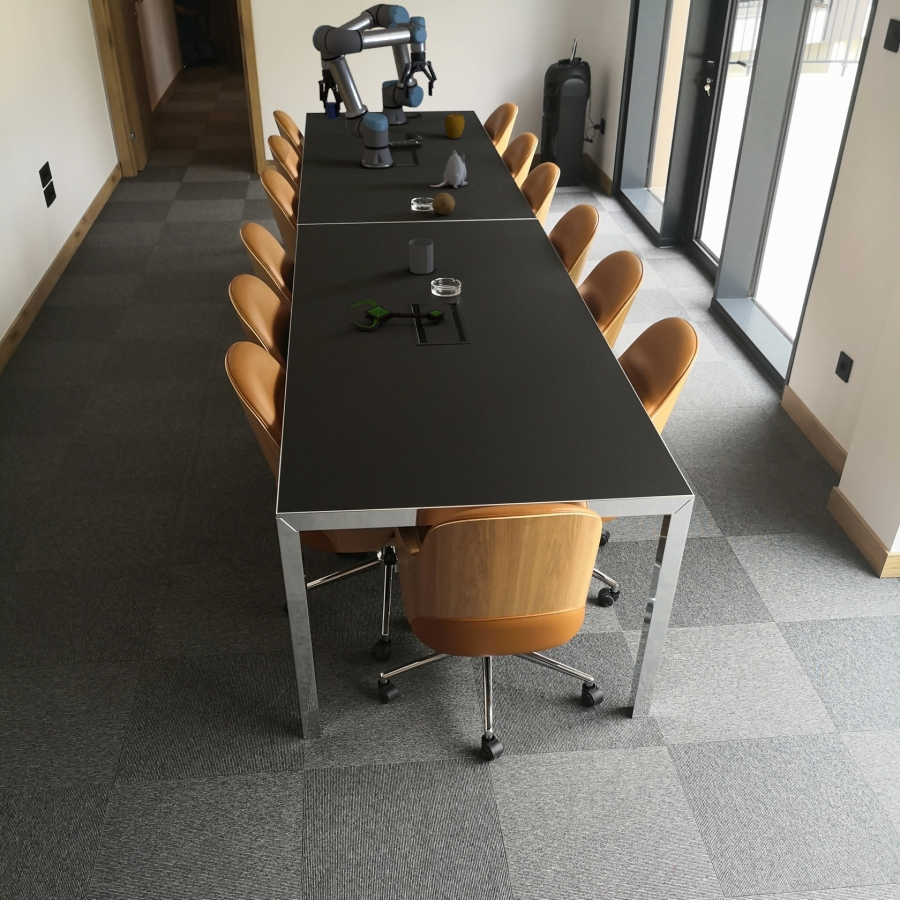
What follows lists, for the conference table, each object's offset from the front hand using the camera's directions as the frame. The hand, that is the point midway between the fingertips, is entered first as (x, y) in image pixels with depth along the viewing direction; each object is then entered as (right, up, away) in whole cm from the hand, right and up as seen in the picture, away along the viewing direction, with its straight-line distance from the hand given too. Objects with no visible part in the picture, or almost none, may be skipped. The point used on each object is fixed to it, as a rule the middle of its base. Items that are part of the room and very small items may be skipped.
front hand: (418, 97), depth 440 cm
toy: (+15, -60, -46) cm, 77 cm away
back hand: (-46, -3, +16) cm, 49 cm away
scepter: (-1, -140, -170) cm, 220 cm away
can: (-46, -4, +17) cm, 49 cm away
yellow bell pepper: (+18, -8, +35) cm, 41 cm away
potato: (+13, -80, -77) cm, 112 cm away
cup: (+6, -115, -132) cm, 175 cm away
